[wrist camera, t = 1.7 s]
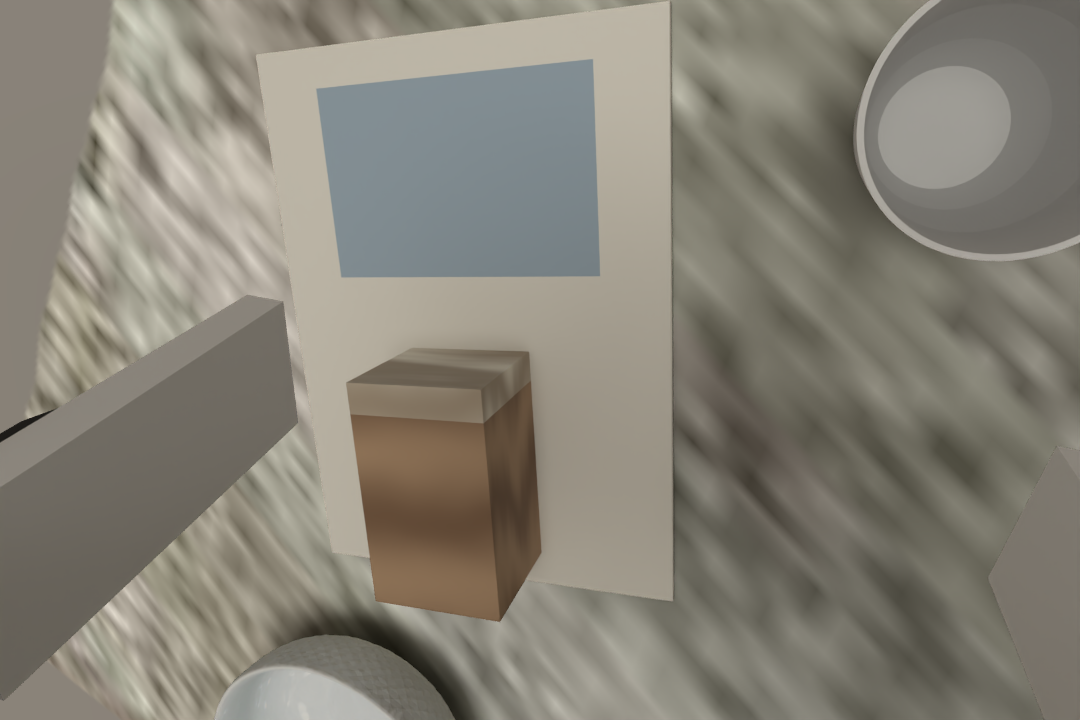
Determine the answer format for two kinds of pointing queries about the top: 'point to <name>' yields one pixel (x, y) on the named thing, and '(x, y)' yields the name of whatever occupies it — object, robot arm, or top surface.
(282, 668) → the cereal bowl
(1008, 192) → the cup
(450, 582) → the block
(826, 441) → the top surface
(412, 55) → the mat
